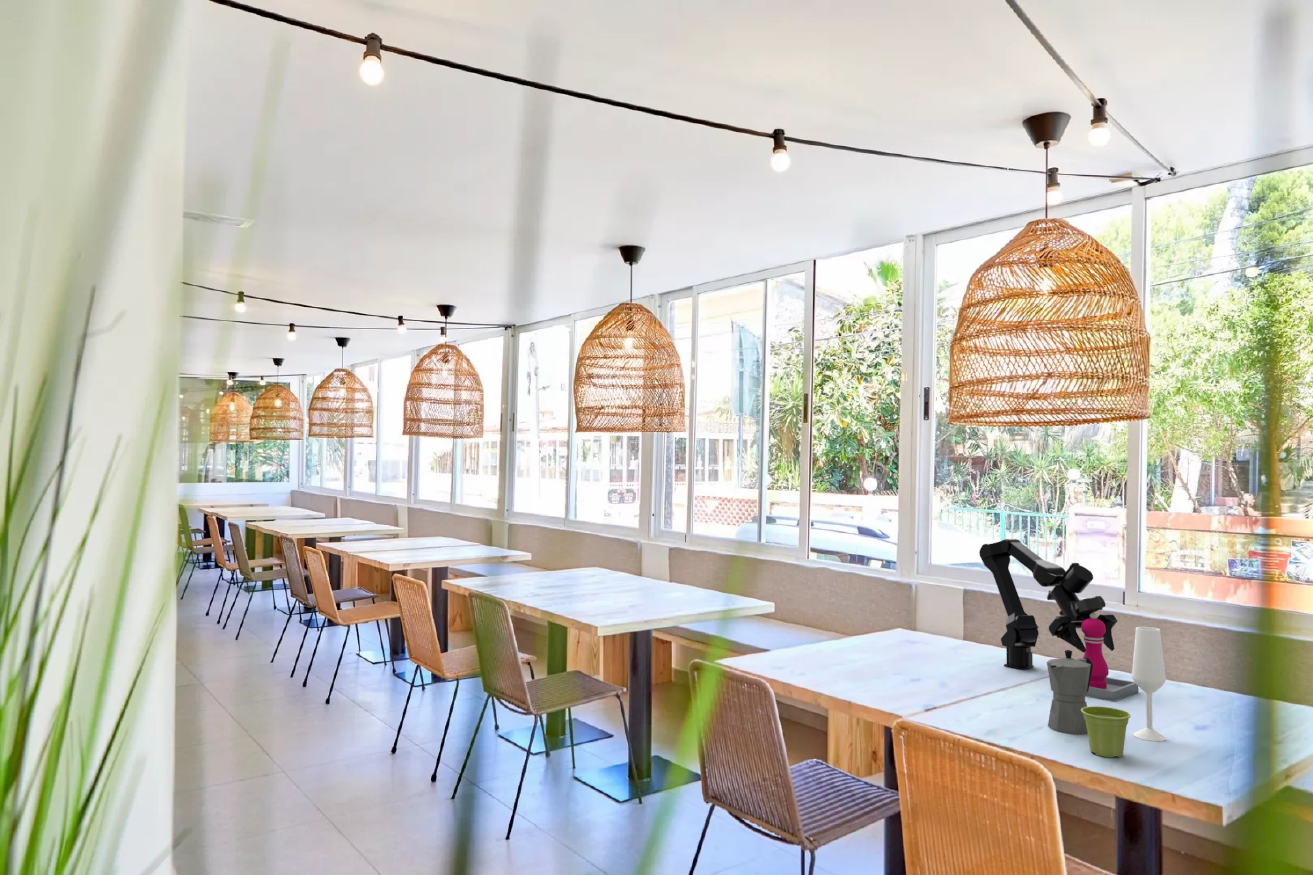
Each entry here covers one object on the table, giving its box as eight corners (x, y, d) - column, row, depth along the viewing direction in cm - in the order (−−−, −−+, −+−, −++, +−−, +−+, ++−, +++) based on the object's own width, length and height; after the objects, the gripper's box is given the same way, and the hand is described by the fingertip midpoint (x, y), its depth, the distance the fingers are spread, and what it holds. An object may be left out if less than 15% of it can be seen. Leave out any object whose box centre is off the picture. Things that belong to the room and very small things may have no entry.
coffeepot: (1071, 738, 194) (1069, 656, 195) (1033, 727, 202) (1032, 649, 203) (1111, 728, 202) (1110, 649, 203) (1073, 718, 210) (1072, 642, 211)
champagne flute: (1150, 742, 192) (1148, 631, 193) (1125, 733, 198) (1123, 626, 199) (1174, 739, 194) (1172, 630, 194) (1149, 730, 200) (1147, 625, 201)
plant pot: (1078, 755, 182) (1077, 713, 183) (1084, 743, 190) (1084, 703, 191) (1129, 763, 177) (1128, 720, 178) (1133, 751, 185) (1133, 710, 185)
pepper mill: (1076, 687, 236) (1076, 613, 237) (1081, 681, 242) (1081, 609, 243) (1106, 691, 232) (1106, 616, 233) (1110, 685, 238) (1110, 612, 239)
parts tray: (1053, 689, 238) (1053, 680, 238) (1079, 681, 248) (1079, 672, 248) (1113, 701, 226) (1113, 691, 226) (1138, 691, 236) (1138, 682, 236)
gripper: (1055, 586, 239) (1085, 634, 228) (1111, 584, 244) (1144, 631, 233) (1036, 611, 247) (1064, 658, 236) (1091, 609, 252) (1121, 655, 240)
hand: (1099, 650), depth 236 cm, fingers open, 9 cm apart
